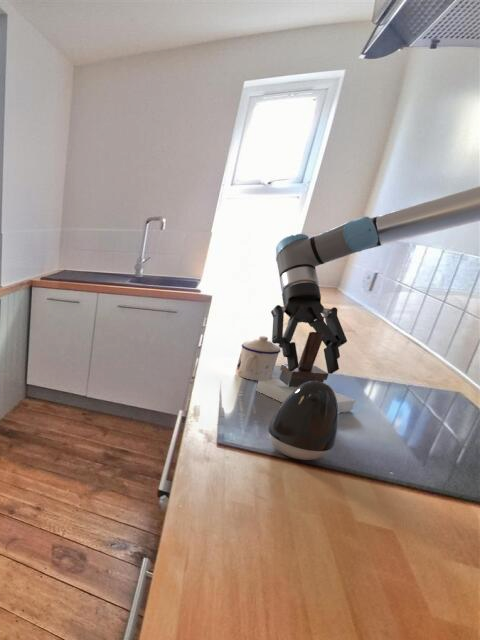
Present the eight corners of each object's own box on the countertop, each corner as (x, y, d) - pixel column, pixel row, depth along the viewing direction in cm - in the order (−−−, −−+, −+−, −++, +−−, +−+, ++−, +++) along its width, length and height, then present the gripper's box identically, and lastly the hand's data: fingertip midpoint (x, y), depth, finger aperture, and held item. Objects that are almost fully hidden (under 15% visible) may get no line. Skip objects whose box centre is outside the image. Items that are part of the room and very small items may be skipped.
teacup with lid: (241, 367, 124) (251, 330, 120) (276, 376, 118) (288, 337, 113) (224, 377, 117) (235, 338, 113) (261, 387, 111) (273, 346, 106)
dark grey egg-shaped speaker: (257, 453, 81) (280, 382, 75) (269, 434, 88) (290, 367, 82) (322, 474, 74) (353, 399, 68) (330, 452, 81) (358, 381, 75)
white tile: (351, 411, 98) (355, 400, 96) (310, 416, 95) (314, 405, 94) (292, 387, 111) (295, 376, 110) (255, 391, 109) (258, 380, 107)
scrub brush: (310, 380, 105) (328, 331, 100) (323, 389, 100) (342, 337, 95) (277, 378, 106) (292, 329, 101) (287, 387, 101) (304, 335, 96)
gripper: (335, 299, 108) (352, 379, 99) (249, 296, 112) (257, 373, 103) (356, 282, 101) (375, 366, 93) (263, 279, 105) (273, 360, 97)
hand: (313, 369), depth 98 cm, fingers closed on scrub brush, 8 cm apart
